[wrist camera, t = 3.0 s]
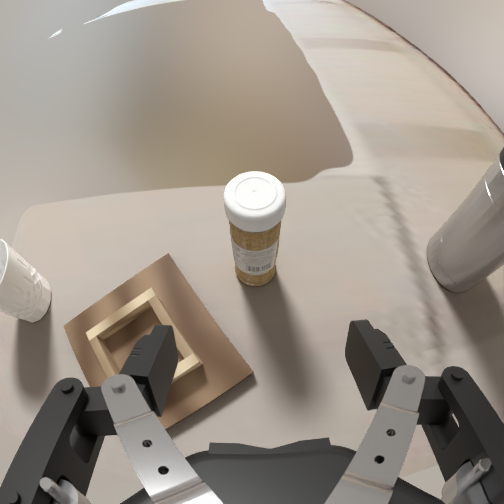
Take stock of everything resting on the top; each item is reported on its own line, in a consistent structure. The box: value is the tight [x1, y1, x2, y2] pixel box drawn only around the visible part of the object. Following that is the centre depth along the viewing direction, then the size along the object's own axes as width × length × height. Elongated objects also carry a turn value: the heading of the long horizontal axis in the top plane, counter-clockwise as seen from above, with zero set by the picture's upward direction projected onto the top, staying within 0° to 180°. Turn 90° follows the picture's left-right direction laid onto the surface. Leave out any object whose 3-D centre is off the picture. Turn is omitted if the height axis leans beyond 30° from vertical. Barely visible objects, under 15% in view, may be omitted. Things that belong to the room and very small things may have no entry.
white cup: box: [0, 239, 51, 323], centre depth 25 cm, size 8×8×10 cm
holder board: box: [64, 253, 253, 430], centre depth 26 cm, size 16×16×3 cm
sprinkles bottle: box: [224, 172, 286, 286], centre depth 26 cm, size 5×5×13 cm
